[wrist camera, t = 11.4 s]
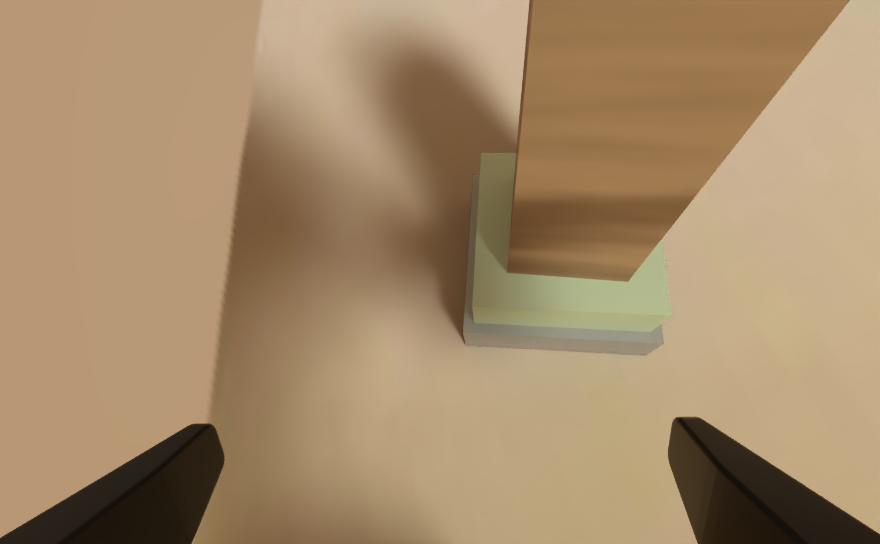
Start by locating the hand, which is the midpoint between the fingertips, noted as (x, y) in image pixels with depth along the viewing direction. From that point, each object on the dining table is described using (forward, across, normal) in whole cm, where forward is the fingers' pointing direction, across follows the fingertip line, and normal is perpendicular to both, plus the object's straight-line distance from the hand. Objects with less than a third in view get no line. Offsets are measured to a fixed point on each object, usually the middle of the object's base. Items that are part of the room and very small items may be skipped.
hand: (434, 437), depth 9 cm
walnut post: (+12, -5, 0) cm, 13 cm away
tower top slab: (+14, -5, +1) cm, 15 cm away
